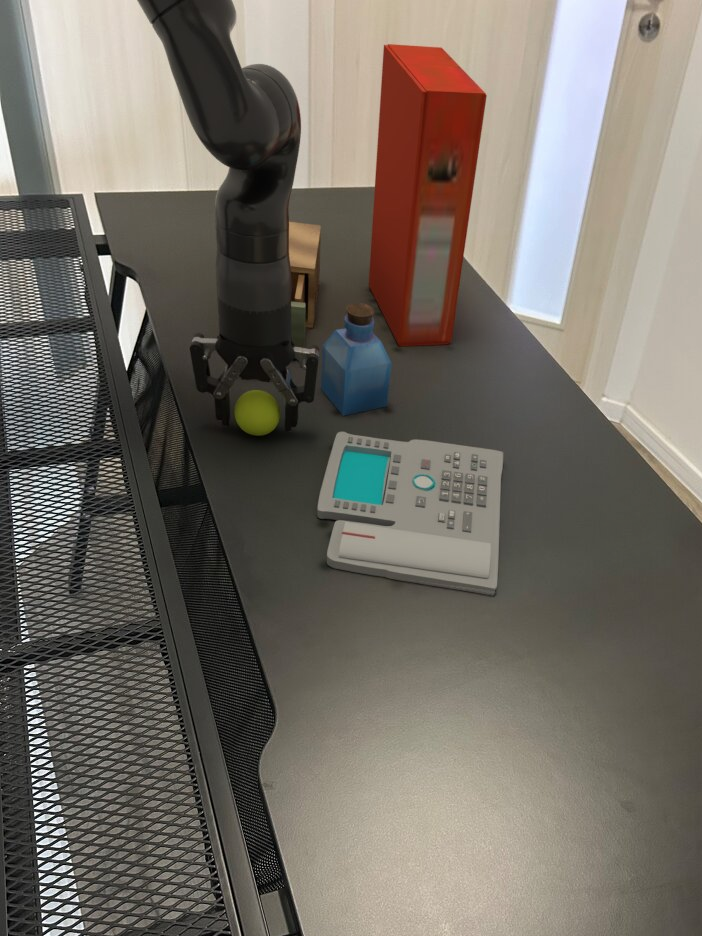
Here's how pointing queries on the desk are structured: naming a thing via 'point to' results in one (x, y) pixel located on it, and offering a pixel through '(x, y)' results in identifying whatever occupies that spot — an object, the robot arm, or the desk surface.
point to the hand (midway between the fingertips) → (257, 424)
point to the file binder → (423, 190)
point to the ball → (257, 412)
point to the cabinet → (306, 261)
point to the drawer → (298, 308)
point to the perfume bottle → (356, 364)
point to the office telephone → (414, 511)
